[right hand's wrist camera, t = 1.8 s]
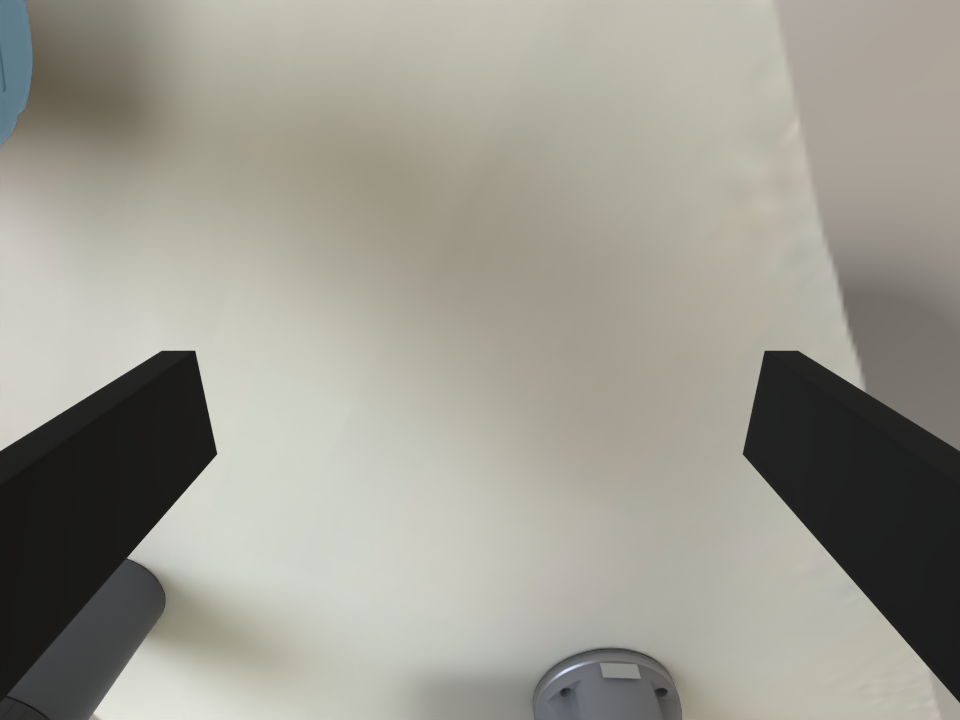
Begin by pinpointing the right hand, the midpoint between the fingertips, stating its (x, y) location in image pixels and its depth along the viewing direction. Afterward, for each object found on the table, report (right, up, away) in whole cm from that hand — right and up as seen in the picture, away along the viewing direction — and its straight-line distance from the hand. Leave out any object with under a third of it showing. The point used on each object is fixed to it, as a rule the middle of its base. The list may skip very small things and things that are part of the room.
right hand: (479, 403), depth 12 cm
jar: (-35, -22, +39) cm, 57 cm away
